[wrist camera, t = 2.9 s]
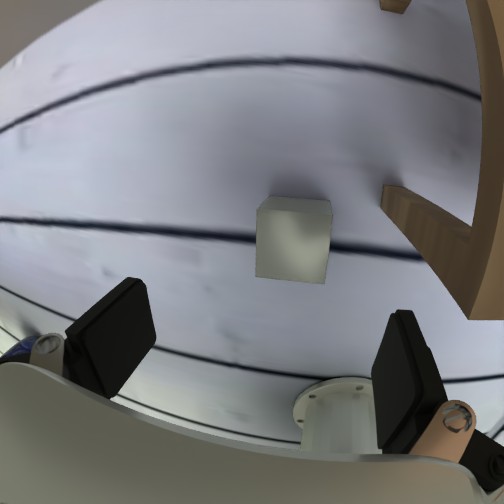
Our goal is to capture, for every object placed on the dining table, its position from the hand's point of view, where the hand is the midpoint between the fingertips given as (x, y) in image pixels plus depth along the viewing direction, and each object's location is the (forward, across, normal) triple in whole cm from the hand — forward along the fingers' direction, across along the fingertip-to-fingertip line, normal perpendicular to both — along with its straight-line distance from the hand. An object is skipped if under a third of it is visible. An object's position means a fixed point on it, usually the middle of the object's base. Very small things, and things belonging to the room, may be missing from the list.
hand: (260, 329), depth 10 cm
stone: (+15, 0, +1) cm, 15 cm away
